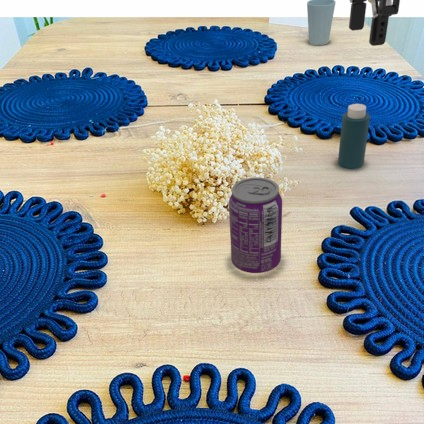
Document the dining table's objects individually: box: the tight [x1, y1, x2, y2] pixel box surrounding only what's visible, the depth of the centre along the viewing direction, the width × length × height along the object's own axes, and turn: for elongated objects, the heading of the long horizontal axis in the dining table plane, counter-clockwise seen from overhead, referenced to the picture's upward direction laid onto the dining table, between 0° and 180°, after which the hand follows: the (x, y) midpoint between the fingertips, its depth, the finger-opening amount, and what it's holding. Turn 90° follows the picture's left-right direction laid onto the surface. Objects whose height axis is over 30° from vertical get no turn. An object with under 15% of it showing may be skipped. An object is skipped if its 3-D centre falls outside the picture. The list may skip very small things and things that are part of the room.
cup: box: [306, 0, 336, 46], centre depth 149 cm, size 8×8×10 cm
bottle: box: [337, 103, 371, 170], centre depth 94 cm, size 5×5×10 cm
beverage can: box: [228, 177, 283, 274], centre depth 73 cm, size 7×7×12 cm
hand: (365, 36), depth 82 cm, fingers open, 8 cm apart
